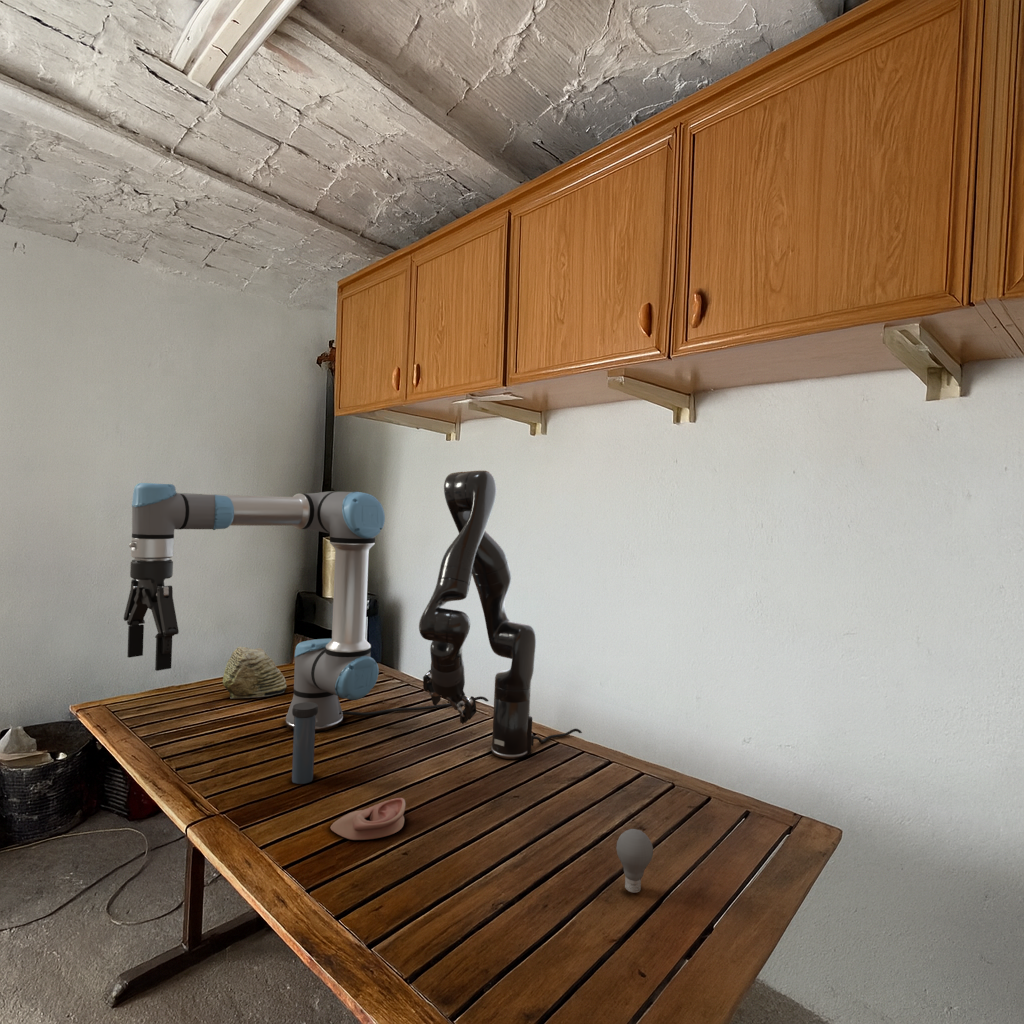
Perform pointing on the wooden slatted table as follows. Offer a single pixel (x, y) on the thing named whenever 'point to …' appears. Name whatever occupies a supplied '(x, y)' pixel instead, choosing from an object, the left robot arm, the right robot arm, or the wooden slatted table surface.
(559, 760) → the wooden slatted table surface
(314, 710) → the lid
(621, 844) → the light bulb
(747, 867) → the wooden slatted table surface
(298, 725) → the jar
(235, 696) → the fossil
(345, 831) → the anatomical model
